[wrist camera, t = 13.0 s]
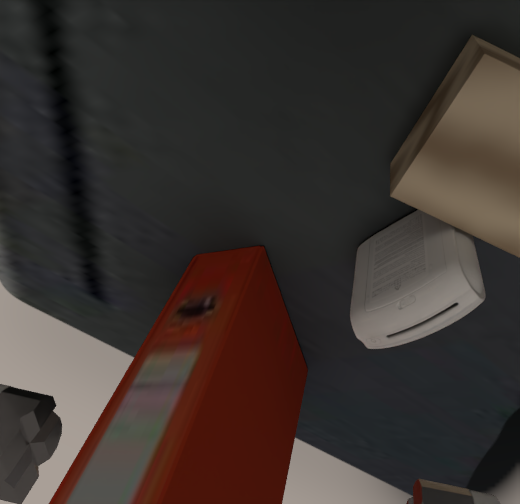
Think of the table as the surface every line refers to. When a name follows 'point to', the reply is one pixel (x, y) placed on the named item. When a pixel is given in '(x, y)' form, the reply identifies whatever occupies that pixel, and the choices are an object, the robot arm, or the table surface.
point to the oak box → (468, 149)
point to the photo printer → (413, 281)
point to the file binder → (201, 397)
